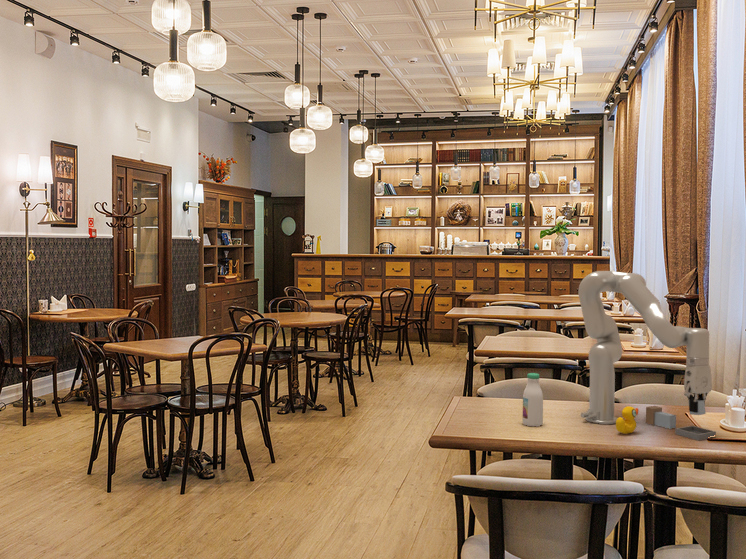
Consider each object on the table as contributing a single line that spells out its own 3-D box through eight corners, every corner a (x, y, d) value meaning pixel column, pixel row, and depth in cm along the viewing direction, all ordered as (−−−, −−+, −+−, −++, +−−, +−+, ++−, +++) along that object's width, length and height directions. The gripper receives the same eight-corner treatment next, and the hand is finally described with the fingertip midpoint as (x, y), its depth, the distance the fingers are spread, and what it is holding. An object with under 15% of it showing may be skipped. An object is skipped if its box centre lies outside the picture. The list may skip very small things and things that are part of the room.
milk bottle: (544, 423, 269) (545, 373, 268) (540, 427, 262) (541, 376, 261) (524, 421, 272) (525, 371, 271) (520, 425, 265) (521, 374, 264)
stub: (699, 415, 249) (698, 400, 250) (689, 414, 253) (688, 400, 253) (705, 414, 251) (704, 400, 251) (695, 413, 254) (694, 399, 255)
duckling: (631, 429, 261) (631, 403, 260) (643, 432, 256) (643, 406, 256) (611, 433, 255) (612, 407, 254) (623, 437, 250) (624, 410, 250)
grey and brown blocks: (668, 429, 261) (668, 412, 261) (645, 423, 270) (646, 407, 270) (677, 427, 263) (677, 411, 263) (654, 421, 273) (654, 405, 272)
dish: (698, 440, 246) (698, 434, 246) (675, 434, 254) (675, 428, 254) (715, 437, 251) (715, 431, 251) (692, 430, 259) (692, 425, 259)
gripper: (692, 365, 244) (691, 416, 245) (721, 361, 252) (720, 410, 253) (673, 362, 251) (673, 411, 251) (702, 358, 259) (702, 406, 259)
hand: (696, 410), depth 252 cm, fingers closed on stub, 3 cm apart
